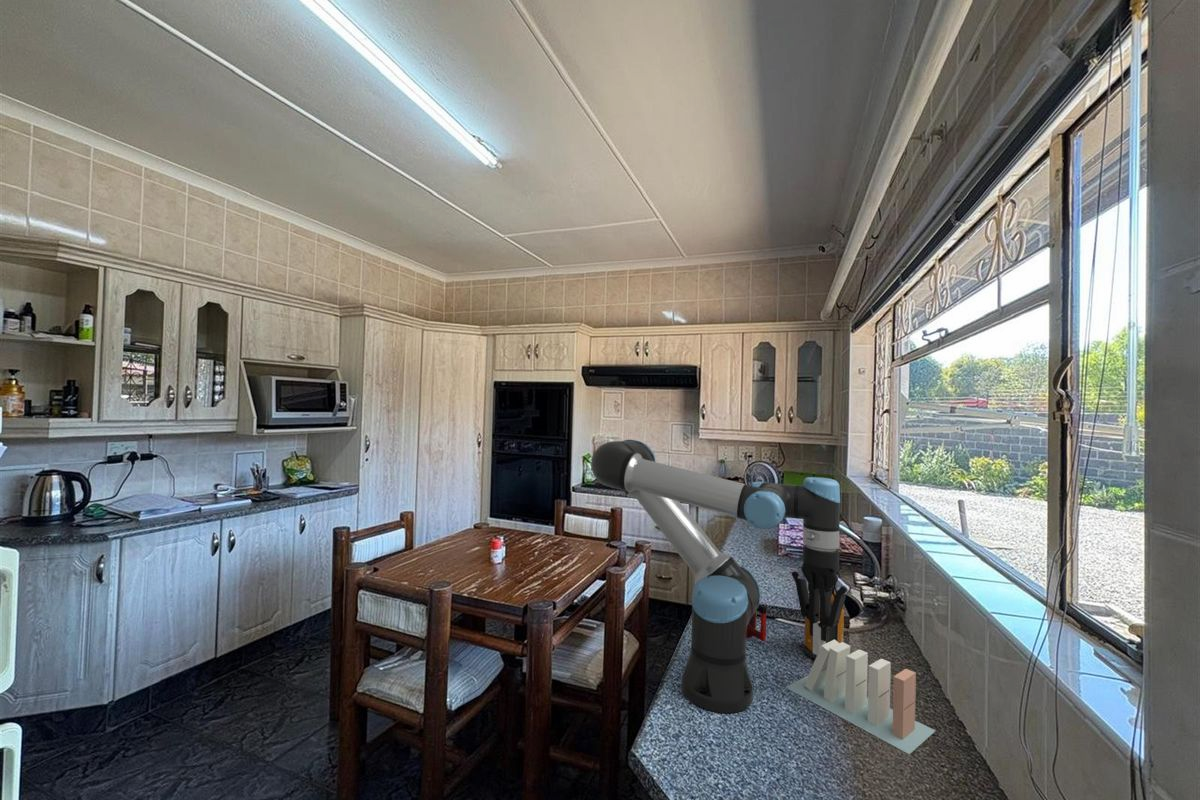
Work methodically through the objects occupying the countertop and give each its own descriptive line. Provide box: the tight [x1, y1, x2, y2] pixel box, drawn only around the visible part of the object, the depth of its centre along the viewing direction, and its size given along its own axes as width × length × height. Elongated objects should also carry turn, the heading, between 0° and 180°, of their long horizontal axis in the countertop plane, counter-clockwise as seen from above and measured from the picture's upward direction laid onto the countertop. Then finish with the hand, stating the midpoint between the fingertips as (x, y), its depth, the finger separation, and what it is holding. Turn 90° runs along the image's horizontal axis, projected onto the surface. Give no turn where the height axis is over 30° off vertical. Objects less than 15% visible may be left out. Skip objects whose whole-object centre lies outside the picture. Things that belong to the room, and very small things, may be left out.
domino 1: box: [804, 639, 839, 692], centre depth 106 cm, size 2×5×11 cm, turn 126°
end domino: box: [892, 668, 917, 740], centre depth 93 cm, size 2×5×11 cm, turn 126°
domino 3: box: [845, 649, 869, 714], centre depth 101 cm, size 2×5×11 cm, turn 126°
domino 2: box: [824, 641, 851, 702], centre depth 104 cm, size 2×5×11 cm, turn 126°
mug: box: [746, 603, 767, 642], centre depth 135 cm, size 10×14×12 cm
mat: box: [785, 675, 937, 755], centre depth 100 cm, size 25×12×1 cm, turn 36°
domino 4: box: [867, 658, 892, 726], centre depth 97 cm, size 2×5×11 cm, turn 126°
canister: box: [803, 585, 845, 660], centre depth 121 cm, size 9×11×20 cm
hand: (819, 652), depth 107 cm, fingers closed
